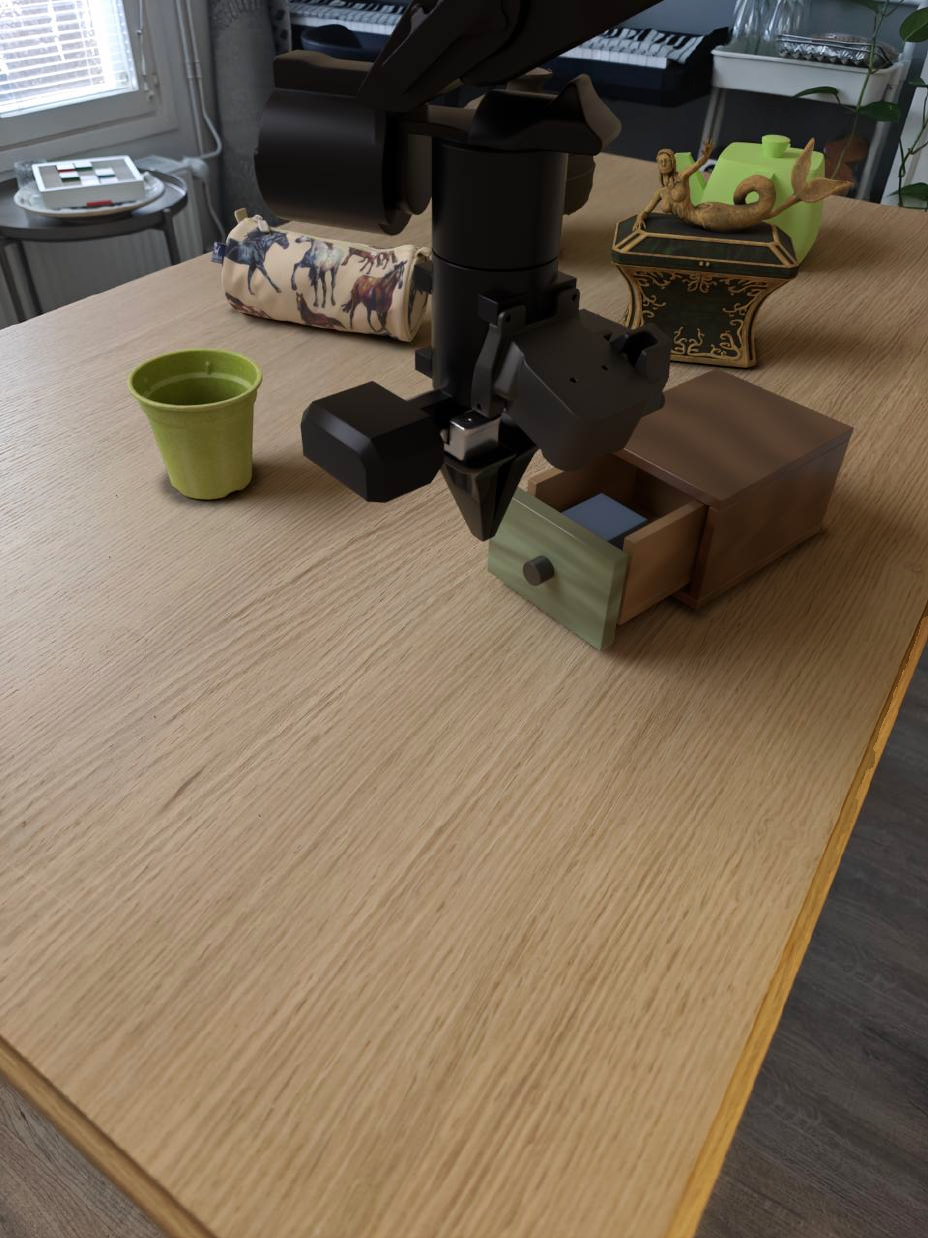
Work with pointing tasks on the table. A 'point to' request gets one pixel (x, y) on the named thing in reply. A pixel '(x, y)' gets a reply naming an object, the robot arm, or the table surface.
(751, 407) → the cabinet
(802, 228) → the teapot
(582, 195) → the pot
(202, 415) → the plant pot
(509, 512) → the drawer
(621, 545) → the block
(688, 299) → the decorative box
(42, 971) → the table surface
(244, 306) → the pencil case
